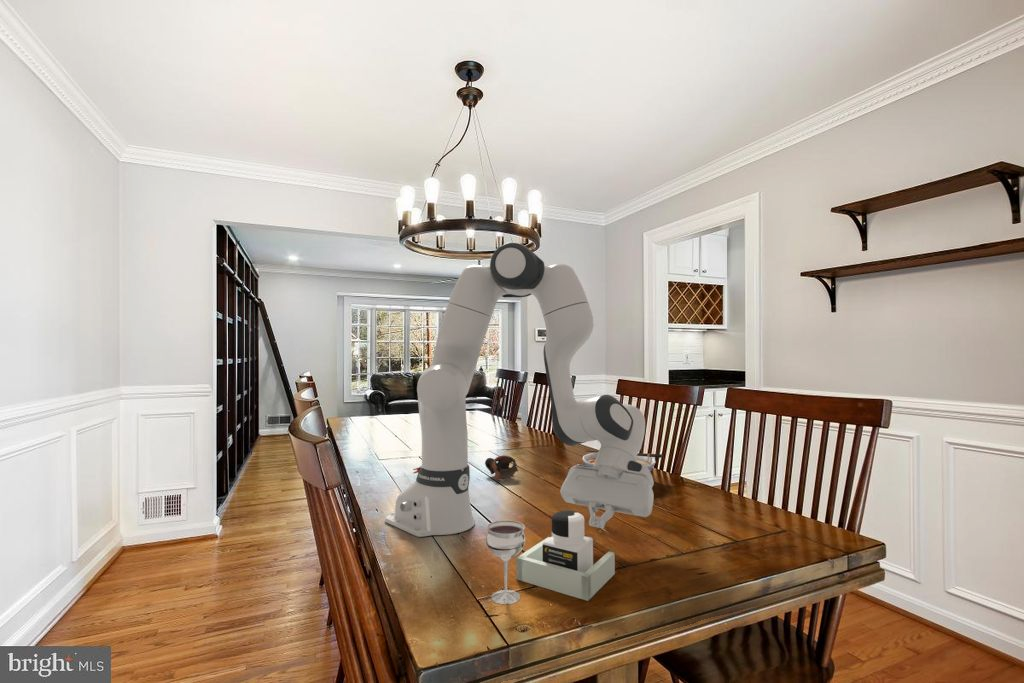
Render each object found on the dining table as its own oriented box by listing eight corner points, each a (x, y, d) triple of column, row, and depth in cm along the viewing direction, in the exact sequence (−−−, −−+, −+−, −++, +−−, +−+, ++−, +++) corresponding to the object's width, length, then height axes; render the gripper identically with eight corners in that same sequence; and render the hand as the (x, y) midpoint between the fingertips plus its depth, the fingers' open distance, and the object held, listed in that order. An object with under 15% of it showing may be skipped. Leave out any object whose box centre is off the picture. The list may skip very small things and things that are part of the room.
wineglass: (517, 610, 82) (517, 536, 82) (479, 602, 84) (479, 531, 84) (531, 591, 88) (530, 523, 88) (495, 584, 90) (495, 518, 91)
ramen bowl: (570, 487, 153) (570, 460, 153) (588, 470, 174) (588, 446, 174) (654, 496, 143) (654, 468, 143) (663, 477, 164) (663, 452, 164)
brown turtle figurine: (521, 476, 167) (523, 458, 163) (509, 495, 160) (510, 476, 156) (490, 464, 172) (490, 446, 168) (476, 482, 164) (476, 463, 160)
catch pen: (516, 579, 93) (516, 557, 93) (548, 556, 103) (548, 536, 103) (587, 601, 85) (587, 577, 85) (614, 574, 95) (614, 552, 95)
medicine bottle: (541, 581, 92) (541, 515, 92) (559, 566, 98) (559, 505, 98) (577, 591, 88) (577, 523, 88) (593, 575, 94) (593, 511, 94)
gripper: (567, 455, 117) (547, 509, 108) (654, 467, 105) (638, 528, 97) (576, 471, 120) (557, 523, 112) (661, 483, 109) (646, 543, 101)
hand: (595, 526), depth 104 cm, fingers closed
